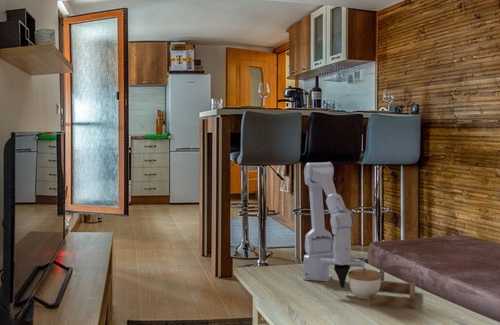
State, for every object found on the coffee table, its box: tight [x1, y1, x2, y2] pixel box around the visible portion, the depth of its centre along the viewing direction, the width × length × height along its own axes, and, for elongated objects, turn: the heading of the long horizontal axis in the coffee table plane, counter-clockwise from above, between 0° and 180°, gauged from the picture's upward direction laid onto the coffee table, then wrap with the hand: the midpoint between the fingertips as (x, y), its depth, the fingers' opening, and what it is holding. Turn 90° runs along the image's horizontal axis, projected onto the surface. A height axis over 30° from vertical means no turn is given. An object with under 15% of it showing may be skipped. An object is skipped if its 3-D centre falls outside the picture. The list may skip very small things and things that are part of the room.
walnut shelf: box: [369, 280, 416, 310], centre depth 164 cm, size 14×18×3 cm
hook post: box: [376, 269, 385, 281], centre depth 175 cm, size 2×4×6 cm, turn 161°
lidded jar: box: [347, 267, 381, 300], centre depth 166 cm, size 11×11×9 cm
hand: (342, 286), depth 169 cm, fingers closed
